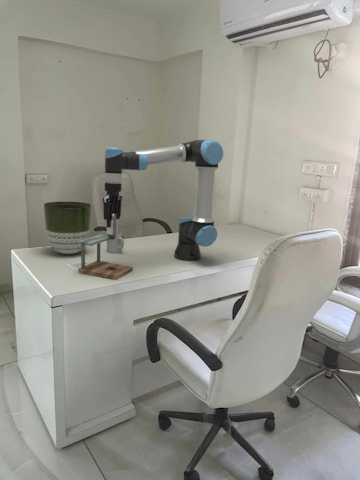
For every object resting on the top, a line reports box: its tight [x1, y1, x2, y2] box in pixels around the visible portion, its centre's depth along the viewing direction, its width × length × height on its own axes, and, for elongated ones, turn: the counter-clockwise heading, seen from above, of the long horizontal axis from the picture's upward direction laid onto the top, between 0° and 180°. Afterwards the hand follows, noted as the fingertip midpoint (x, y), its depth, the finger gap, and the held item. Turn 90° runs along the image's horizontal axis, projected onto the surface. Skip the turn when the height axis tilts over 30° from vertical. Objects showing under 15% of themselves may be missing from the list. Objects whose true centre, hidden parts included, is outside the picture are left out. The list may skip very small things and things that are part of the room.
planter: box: [43, 201, 92, 255], centre depth 201 cm, size 24×24×27 cm
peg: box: [108, 213, 116, 240], centre depth 170 cm, size 4×4×12 cm
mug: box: [106, 231, 125, 254], centre depth 210 cm, size 12×8×11 cm
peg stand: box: [78, 234, 134, 281], centre depth 175 cm, size 20×16×15 cm
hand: (112, 233), depth 171 cm, fingers closed on peg, 3 cm apart
